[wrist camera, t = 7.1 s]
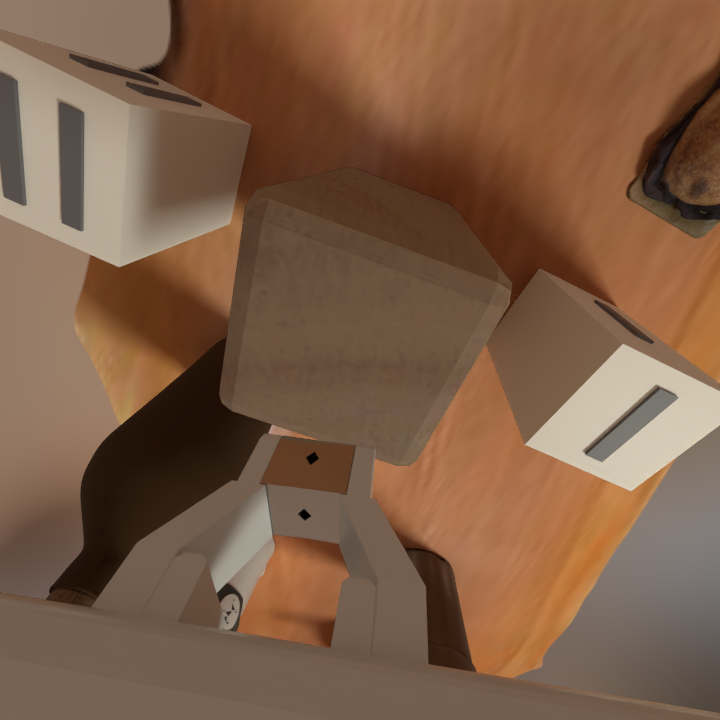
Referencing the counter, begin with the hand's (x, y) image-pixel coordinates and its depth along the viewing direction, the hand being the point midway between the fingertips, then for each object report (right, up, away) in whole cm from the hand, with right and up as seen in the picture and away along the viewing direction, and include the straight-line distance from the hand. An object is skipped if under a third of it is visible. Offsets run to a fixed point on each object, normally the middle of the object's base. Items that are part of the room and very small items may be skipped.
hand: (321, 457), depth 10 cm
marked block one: (+18, +6, +23) cm, 30 cm away
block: (+3, +13, +22) cm, 25 cm away
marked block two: (-13, +19, +20) cm, 30 cm away
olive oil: (-11, +1, +30) cm, 32 cm away
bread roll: (+26, +18, +16) cm, 36 cm away
